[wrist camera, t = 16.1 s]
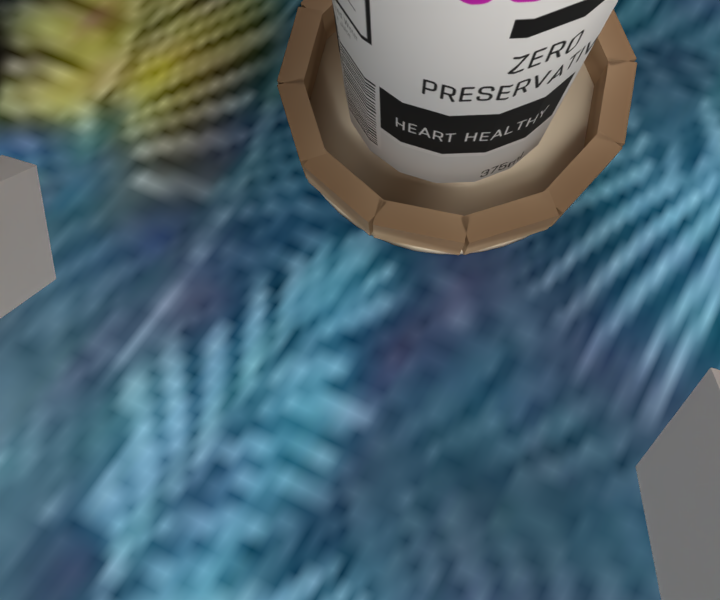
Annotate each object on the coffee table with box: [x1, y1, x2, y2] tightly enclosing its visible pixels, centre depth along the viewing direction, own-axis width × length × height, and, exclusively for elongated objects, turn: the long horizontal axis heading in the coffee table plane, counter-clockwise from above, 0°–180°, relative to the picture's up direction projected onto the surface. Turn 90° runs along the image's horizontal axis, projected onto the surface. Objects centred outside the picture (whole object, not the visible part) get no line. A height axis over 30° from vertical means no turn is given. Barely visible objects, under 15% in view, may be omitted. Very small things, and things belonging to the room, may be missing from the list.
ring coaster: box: [277, 0, 637, 255], centre depth 22 cm, size 13×13×2 cm
